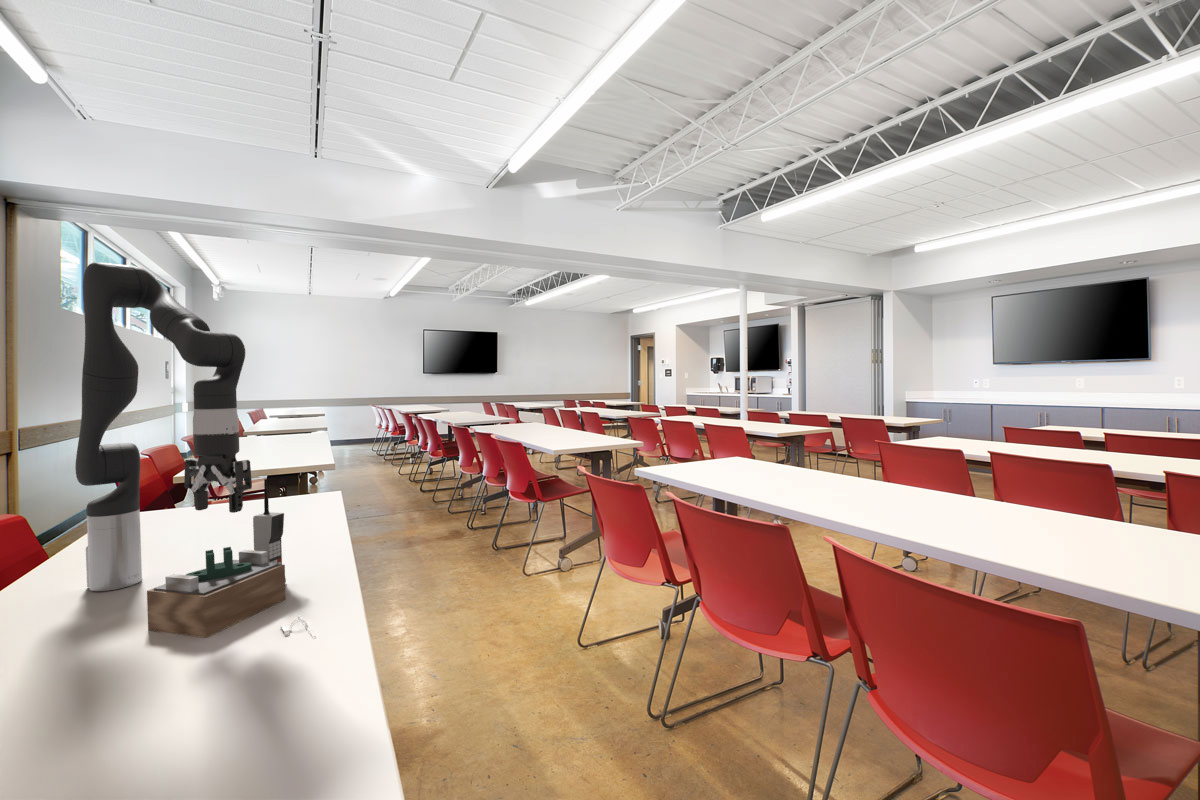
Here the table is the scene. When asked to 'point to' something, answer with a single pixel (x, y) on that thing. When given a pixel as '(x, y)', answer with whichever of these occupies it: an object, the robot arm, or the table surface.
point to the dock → (215, 598)
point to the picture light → (302, 623)
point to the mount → (220, 567)
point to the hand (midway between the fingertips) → (218, 510)
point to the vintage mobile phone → (269, 532)
